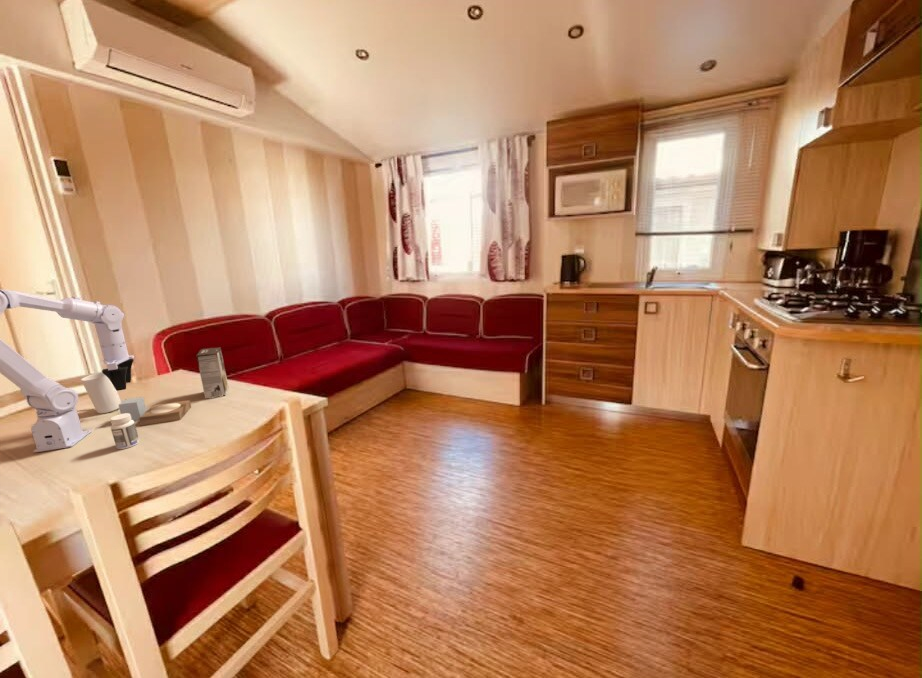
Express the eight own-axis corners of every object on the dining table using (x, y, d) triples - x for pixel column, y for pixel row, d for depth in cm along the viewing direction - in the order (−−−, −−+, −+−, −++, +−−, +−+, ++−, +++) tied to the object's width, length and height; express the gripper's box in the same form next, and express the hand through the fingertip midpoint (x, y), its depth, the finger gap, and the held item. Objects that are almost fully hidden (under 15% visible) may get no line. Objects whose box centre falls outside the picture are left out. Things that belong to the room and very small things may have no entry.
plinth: (180, 419, 114) (178, 411, 114) (141, 425, 111) (139, 417, 110) (191, 407, 123) (189, 399, 123) (155, 412, 120) (153, 404, 120)
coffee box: (209, 390, 138) (200, 349, 134) (229, 387, 140) (221, 346, 137) (204, 399, 130) (195, 355, 126) (225, 395, 132) (217, 352, 129)
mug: (125, 406, 124) (111, 374, 120) (98, 416, 119) (83, 382, 115) (118, 400, 130) (104, 368, 126) (92, 408, 125) (77, 376, 121)
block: (141, 420, 115) (136, 402, 113) (123, 422, 113) (118, 404, 112) (147, 414, 119) (143, 396, 118) (130, 416, 118) (125, 399, 116)
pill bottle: (137, 438, 103) (130, 410, 101) (141, 444, 100) (134, 415, 98) (114, 446, 100) (106, 417, 98) (118, 451, 97) (110, 422, 95)
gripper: (125, 346, 109) (136, 390, 112) (134, 337, 121) (144, 377, 124) (92, 350, 105) (105, 395, 109) (105, 341, 117) (116, 381, 121)
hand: (123, 386), depth 116 cm, fingers open, 7 cm apart
